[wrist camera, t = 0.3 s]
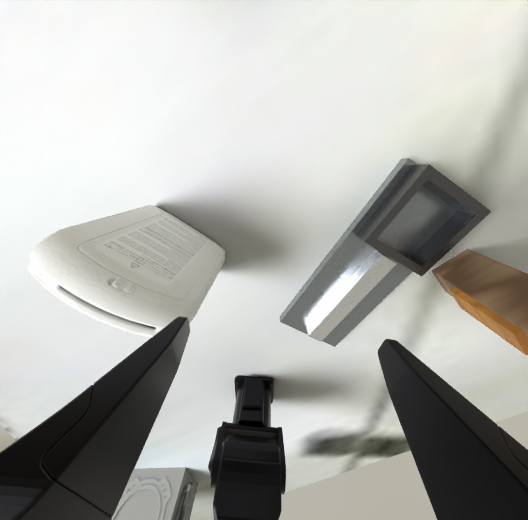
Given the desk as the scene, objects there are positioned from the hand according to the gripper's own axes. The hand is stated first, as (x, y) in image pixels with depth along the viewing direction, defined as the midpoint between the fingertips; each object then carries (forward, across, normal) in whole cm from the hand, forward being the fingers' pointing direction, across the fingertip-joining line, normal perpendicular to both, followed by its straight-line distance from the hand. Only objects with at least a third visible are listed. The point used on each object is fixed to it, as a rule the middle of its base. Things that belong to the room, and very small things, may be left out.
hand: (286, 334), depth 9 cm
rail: (+14, -10, +4) cm, 18 cm away
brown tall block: (+14, -22, +3) cm, 26 cm away
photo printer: (+14, +10, +3) cm, 18 cm away
